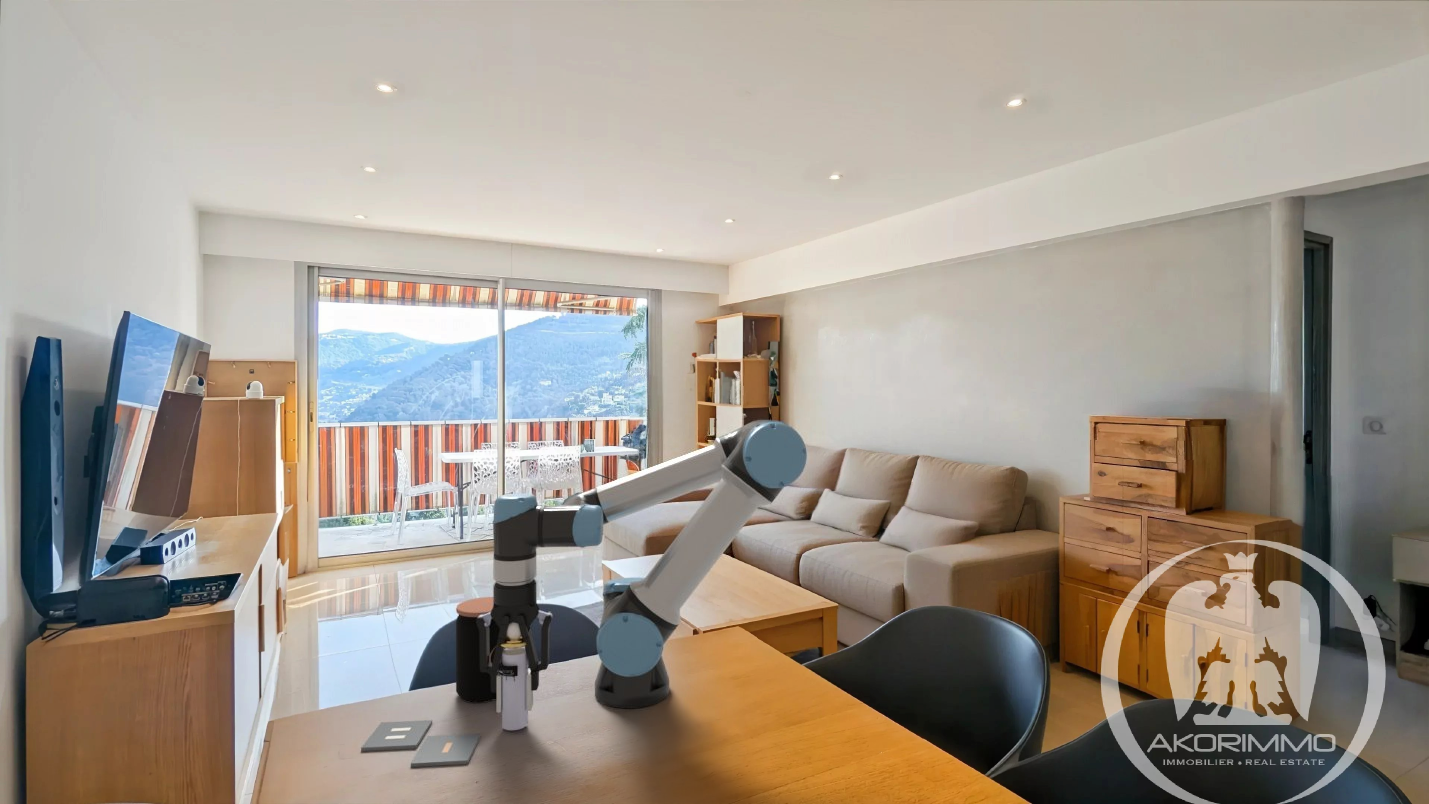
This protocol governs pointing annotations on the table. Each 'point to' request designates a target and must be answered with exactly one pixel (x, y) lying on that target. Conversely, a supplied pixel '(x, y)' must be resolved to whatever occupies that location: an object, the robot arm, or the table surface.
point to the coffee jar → (473, 651)
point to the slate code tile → (397, 735)
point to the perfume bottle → (514, 679)
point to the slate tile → (446, 750)
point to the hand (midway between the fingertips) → (515, 708)
